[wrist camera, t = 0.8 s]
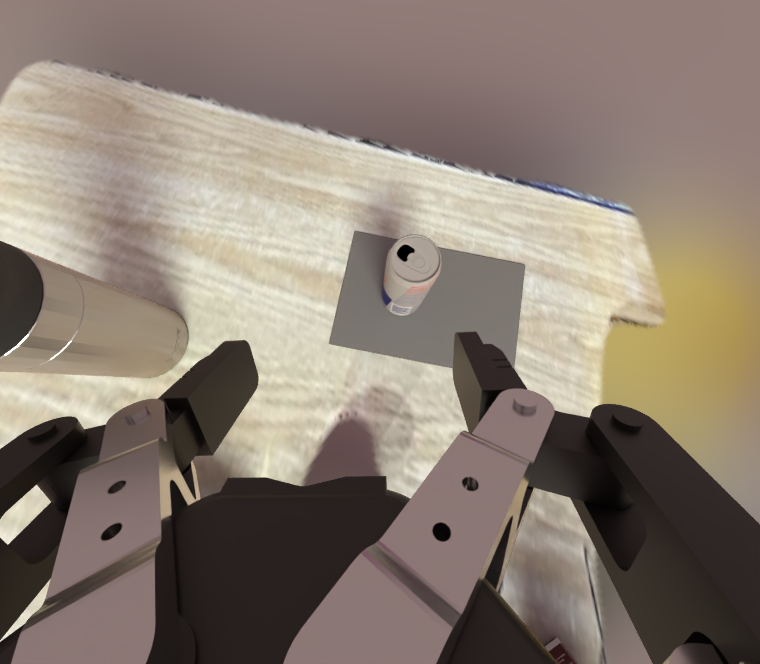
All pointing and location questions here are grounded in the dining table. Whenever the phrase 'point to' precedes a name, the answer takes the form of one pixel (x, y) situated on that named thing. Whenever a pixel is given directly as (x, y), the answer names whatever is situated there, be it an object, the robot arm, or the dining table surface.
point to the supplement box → (559, 652)
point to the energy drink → (410, 273)
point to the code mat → (428, 305)
